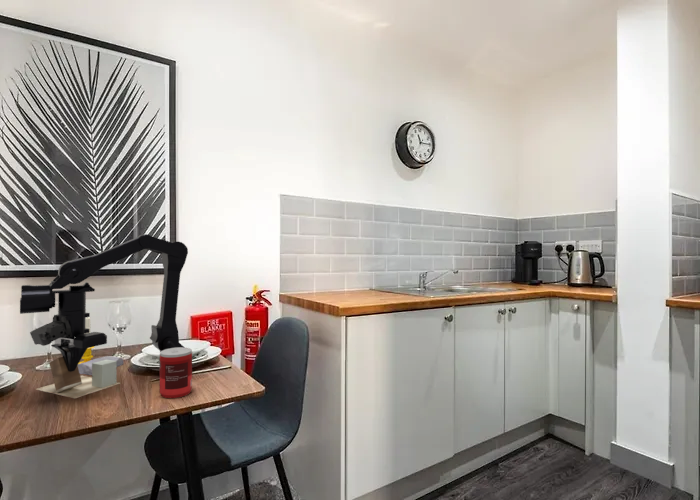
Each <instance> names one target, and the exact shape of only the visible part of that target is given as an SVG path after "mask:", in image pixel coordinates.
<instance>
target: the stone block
mask: <svg viewBox="0 0 700 500" xmlns="http://www.w3.org/2000/svg"><path fill="white" fill-rule="evenodd" d="M106 359H107V360H113V361H117V363H116V368H118V367H120V366H123V365H124V359H123V357H119V356H114V355H106V356H105V355H104V356H101V357H97V358H92V359H91V360H90V361H87V362H85V363H80V364H78V369H79V373H80V375H87V376H92V363H95V362H99V361H103V360H106Z"/></svg>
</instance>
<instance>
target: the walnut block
mask: <svg viewBox="0 0 700 500" xmlns="http://www.w3.org/2000/svg"><path fill="white" fill-rule="evenodd" d="M48 364H49V368H50V372H51V376H52V380H53V384H54V385H55V389H56V393H58V392H61V391H64V390H68V389H71V388H74V387H76V386H78V385H81V384H82V381H81V377H80V376H81V374H80V373H79V369H78V365H77V367H76V369H75V371H72V372H70V371H68V369H67V366H66V364H65V361H64V358H63V356H62V357H56V358H54V359H53V360H52V361H49V362H48Z"/></svg>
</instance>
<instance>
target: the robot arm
mask: <svg viewBox="0 0 700 500" xmlns="http://www.w3.org/2000/svg"><path fill="white" fill-rule="evenodd" d="M143 250H147V251H150V252H153V253H156V254H159V255H161V263H162V266H163V271H164V272H163V282H162V291H161V292H162V294H161V301H160V310H159V312H160V313H159V319H158V322H157V323H156V325H154V324H152V325H151V328H150V329H151V335H150V337H149V339H150V340H151V343H152V345H153V346H154V348H156V349H157V350H159V353H160V352H161V351H163V350H165V349H169V348H178V347H185V346H183V344H181V343H180V337H179V329H178V325H177V310H178V299H179V292H180V291H179V290H180V280H181V279H180V278H181V273H182V270H183V268H184V266H185V264H186V260H187V257H188V253H189V251H188V246H187V245H186V244H185V243H183V242H182V241H168V240H166V239H161V238H158V237H155V236H152V235H150V234H148V233H147V234H146V233H144V234H140V235H138V236H137V237H135V238H132V239H130V240H127V241H124V242H123V243H120V244H117V245H116V246H113V247H110V248H108V249H106V250H103V251H101V252H99V253H96V254H93V255H92V254H91V255H89V256H84V257H80V258H75V259H72V260H68V261H65V262H64V263H62V264H61V265H60V266H59V268H58V270H57V272H58V273H57V275H56V277H55V278H54V279H53V280H51V281H50V283H49V284H39V285H31V284H23V285H21V287H20V289H21V291H20V292H21V294H20V296H21V297H20V298H19V314H20V315H21V314H22V315H23V314H33V313H34V314H36V313H49V312H50V311H51V310H50V309H53V308H56V294H57V297H58V298H57V299H58V300H57V303H58V304H57V305H58V306H57V312H58V313H57V314H54V315H53V316H52V321H51V322H48V323H46V324H44V325H42V326H40V327H38V328H35V329H34V330H31V331H30V332H29V334H30V337H31V338H32V341H33V343H34V345H41V346H43V347H44V346H48V345H51V347H52V348H55V349H56V350H58V351H59V352H60V354H61V356H62V357H63V358H64V361H65V364H66V366H67V369H68V371H70V372H72V371H75V369H76V367H77V365H78V363H79V362H81V359H82V356H84V353H85V351H86V350H87V348H90V347H94V346H95V347H97V346H102V345H107V343H108V335H106V333H104V332H98V331H92V332H91V331H90V333H89V329H87V328H85V325H86V318H87V317H90V312H86V311H87V309H86V308H87V307H86V306H87V305H86V303H87V302H86V299H87V296H86V295H87V293H89V292H91V293H92V292H95V291H96V289H95V288H93V287H92V285H90V284H89V282H87V281H86V279H89V278H90V277H91V276H93V275H94V274H95V273H97V272H99V271H100V270H101V269H103V268H105V267H106V266H109V265H111V264H113V263H116V262H118V261H121V260H122V259H125V258H127V257H130V256H132V255H134V254H136V253H139V252H141V251H143ZM84 281H86V282H85V283H84V284H81V285H76V284H80V283H81V282H84ZM65 287H68V289H64V288H65ZM90 318H91V317H90ZM85 333H86V334H85ZM53 342H54V343H53ZM51 343H53V344H51ZM95 347H94V348H95Z"/></svg>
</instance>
